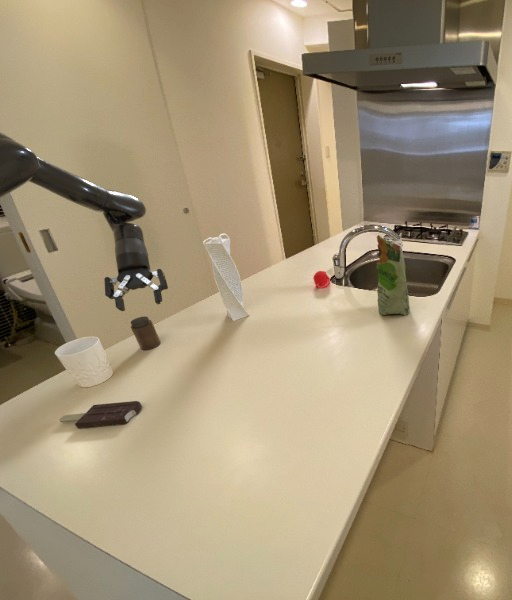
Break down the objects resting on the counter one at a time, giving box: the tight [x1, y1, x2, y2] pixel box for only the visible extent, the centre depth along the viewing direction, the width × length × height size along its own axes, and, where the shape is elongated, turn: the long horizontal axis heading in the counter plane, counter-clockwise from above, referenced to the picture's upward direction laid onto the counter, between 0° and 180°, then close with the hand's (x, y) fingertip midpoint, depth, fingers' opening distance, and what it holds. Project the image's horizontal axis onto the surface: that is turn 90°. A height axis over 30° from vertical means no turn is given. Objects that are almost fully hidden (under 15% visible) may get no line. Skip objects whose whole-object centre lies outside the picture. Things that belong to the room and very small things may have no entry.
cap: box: [312, 270, 331, 290], centre depth 126 cm, size 8×6×6 cm
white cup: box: [54, 335, 114, 388], centre depth 79 cm, size 8×8×10 cm
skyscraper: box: [202, 232, 250, 322], centre depth 101 cm, size 8×8×28 cm
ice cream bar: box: [58, 400, 143, 430], centre depth 69 cm, size 5×2×15 cm
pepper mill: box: [130, 316, 162, 351], centre depth 92 cm, size 5×5×8 cm
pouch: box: [376, 234, 411, 316], centre depth 103 cm, size 11×12×25 cm
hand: (140, 306), depth 93 cm, fingers open, 8 cm apart
